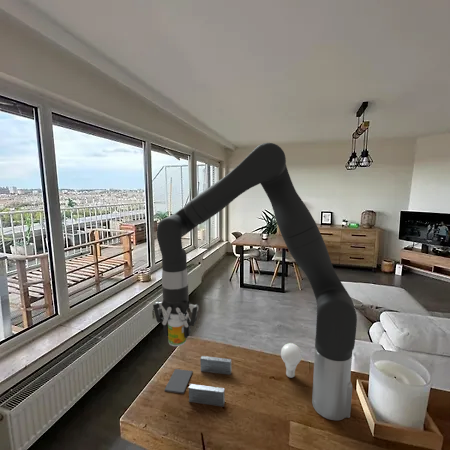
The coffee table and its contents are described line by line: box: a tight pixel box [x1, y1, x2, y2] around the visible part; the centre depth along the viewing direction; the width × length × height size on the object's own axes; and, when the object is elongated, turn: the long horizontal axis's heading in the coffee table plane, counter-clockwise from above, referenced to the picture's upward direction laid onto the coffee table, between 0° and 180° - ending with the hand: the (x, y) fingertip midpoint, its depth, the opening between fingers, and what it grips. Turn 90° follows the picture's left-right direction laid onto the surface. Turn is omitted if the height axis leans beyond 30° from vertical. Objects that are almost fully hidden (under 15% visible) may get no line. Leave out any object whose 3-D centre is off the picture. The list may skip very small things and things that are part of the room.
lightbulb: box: [280, 342, 303, 378], centre depth 85 cm, size 6×6×11 cm
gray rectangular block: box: [164, 368, 193, 395], centre depth 84 cm, size 6×9×1 cm, turn 170°
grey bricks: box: [188, 355, 232, 407], centre depth 82 cm, size 10×14×4 cm
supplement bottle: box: [167, 313, 187, 347], centre depth 81 cm, size 5×5×10 cm
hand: (177, 335), depth 82 cm, fingers closed on supplement bottle, 5 cm apart
